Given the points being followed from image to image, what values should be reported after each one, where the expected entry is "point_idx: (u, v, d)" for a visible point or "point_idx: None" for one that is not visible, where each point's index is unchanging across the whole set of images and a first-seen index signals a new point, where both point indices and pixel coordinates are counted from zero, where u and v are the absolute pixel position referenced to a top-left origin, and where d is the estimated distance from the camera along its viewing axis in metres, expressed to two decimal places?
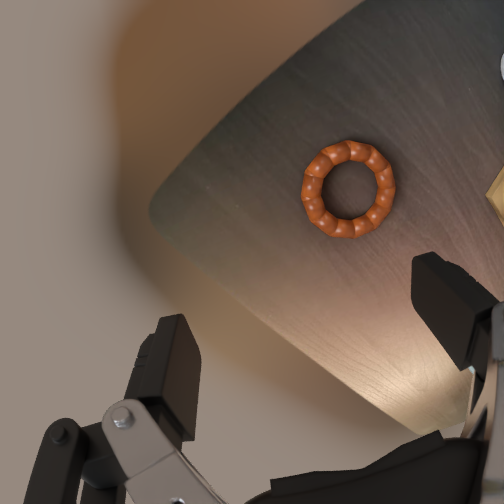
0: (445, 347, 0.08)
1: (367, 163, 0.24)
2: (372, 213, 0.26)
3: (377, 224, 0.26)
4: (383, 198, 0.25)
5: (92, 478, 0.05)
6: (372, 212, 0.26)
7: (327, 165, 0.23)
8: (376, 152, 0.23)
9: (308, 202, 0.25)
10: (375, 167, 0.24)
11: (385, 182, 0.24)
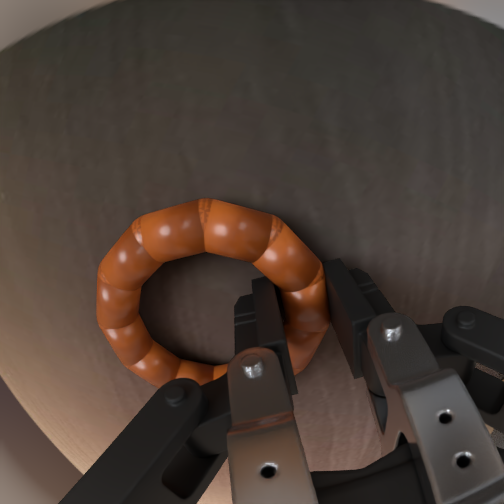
0: (345, 354, 0.09)
1: (284, 296, 0.10)
2: None
3: None
4: None
5: (193, 446, 0.06)
6: None
7: (186, 243, 0.09)
8: (321, 288, 0.10)
9: (102, 285, 0.09)
10: (294, 315, 0.10)
11: (292, 352, 0.11)
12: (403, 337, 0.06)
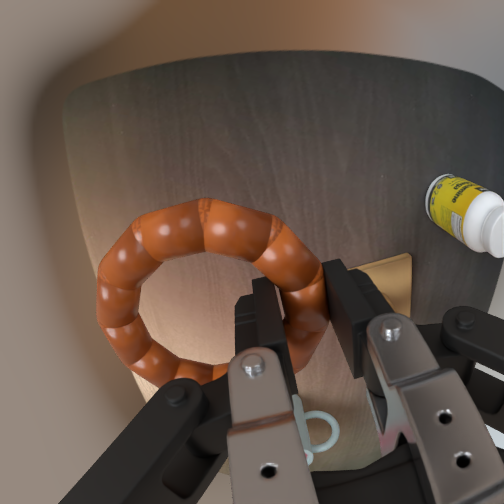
0: (345, 354, 0.09)
1: (283, 296, 0.10)
2: None
3: None
4: None
5: (193, 446, 0.06)
6: None
7: (186, 242, 0.09)
8: (320, 288, 0.10)
9: (102, 285, 0.09)
10: (294, 315, 0.10)
11: (291, 351, 0.11)
12: (402, 337, 0.06)
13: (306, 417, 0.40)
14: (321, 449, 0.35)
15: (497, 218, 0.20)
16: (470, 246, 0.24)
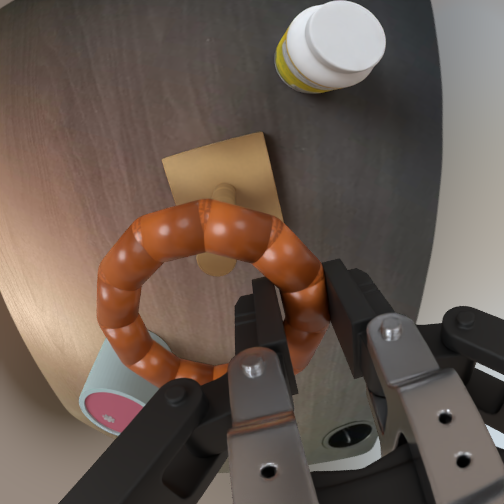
0: (344, 354, 0.09)
1: (284, 296, 0.10)
2: None
3: None
4: None
5: (193, 446, 0.06)
6: None
7: (186, 243, 0.09)
8: (321, 289, 0.10)
9: (102, 285, 0.09)
10: (294, 315, 0.10)
11: (291, 352, 0.11)
12: (403, 337, 0.06)
13: None
14: None
15: (317, 8, 0.13)
16: (307, 74, 0.17)
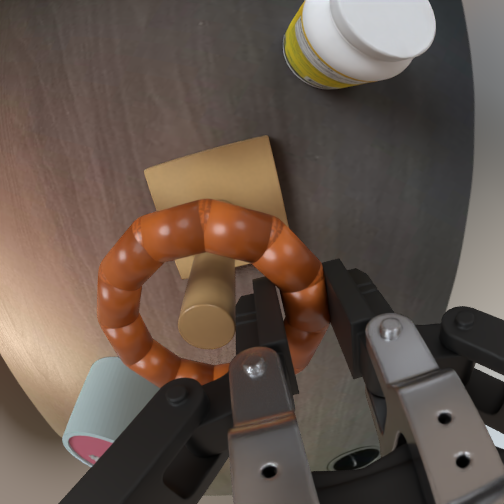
0: (344, 354, 0.09)
1: (284, 296, 0.10)
2: None
3: None
4: None
5: (194, 446, 0.06)
6: None
7: (186, 243, 0.09)
8: (321, 289, 0.10)
9: (102, 285, 0.09)
10: (294, 315, 0.10)
11: (292, 352, 0.11)
12: (401, 337, 0.06)
13: None
14: None
15: None
16: (331, 60, 0.12)
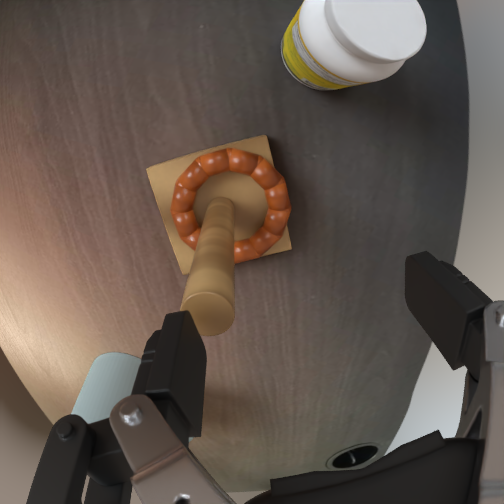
0: (438, 347, 0.08)
1: (266, 192, 0.21)
2: (238, 246, 0.23)
3: (236, 260, 0.23)
4: (260, 238, 0.22)
5: (98, 475, 0.06)
6: (238, 245, 0.23)
7: (221, 165, 0.20)
8: (283, 187, 0.21)
9: (178, 189, 0.21)
10: (271, 202, 0.21)
11: (272, 224, 0.22)
12: None
13: None
14: None
15: None
16: (326, 63, 0.13)
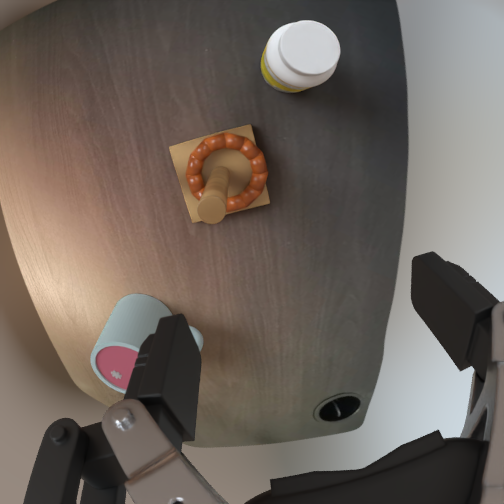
0: (445, 347, 0.08)
1: (250, 161, 0.31)
2: (231, 199, 0.33)
3: (230, 209, 0.33)
4: (246, 193, 0.32)
5: (92, 478, 0.05)
6: (232, 198, 0.33)
7: (220, 143, 0.30)
8: (262, 158, 0.31)
9: (191, 159, 0.31)
10: (254, 167, 0.31)
11: (254, 183, 0.32)
12: None
13: None
14: None
15: (286, 28, 0.19)
16: (281, 77, 0.23)
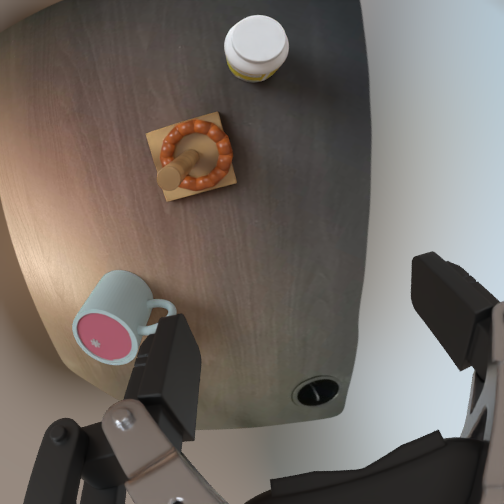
0: (446, 347, 0.08)
1: (216, 144, 0.34)
2: (200, 178, 0.35)
3: (199, 187, 0.36)
4: (213, 173, 0.35)
5: (92, 478, 0.05)
6: (201, 178, 0.35)
7: (189, 128, 0.33)
8: (226, 141, 0.34)
9: (164, 143, 0.33)
10: (219, 150, 0.34)
11: (220, 163, 0.35)
12: None
13: (148, 304, 0.42)
14: (146, 330, 0.36)
15: (237, 23, 0.21)
16: (237, 67, 0.25)
